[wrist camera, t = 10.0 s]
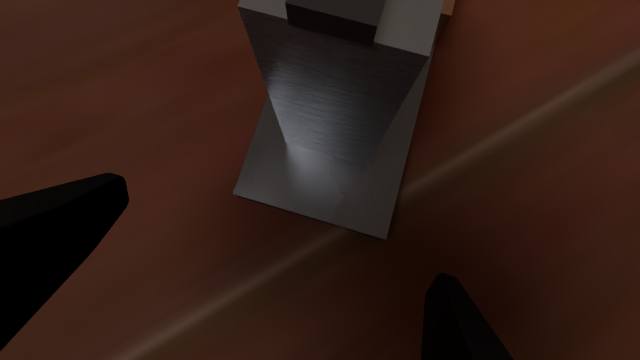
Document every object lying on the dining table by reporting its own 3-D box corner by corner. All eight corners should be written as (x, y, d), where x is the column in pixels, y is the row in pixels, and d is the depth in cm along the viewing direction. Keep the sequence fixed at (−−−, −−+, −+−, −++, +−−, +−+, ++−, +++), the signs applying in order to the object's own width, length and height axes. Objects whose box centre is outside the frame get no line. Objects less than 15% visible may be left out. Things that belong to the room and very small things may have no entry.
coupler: (382, 240, 20) (401, 238, 16) (237, 196, 21) (212, 182, 16) (443, -2, 24) (474, -65, 19) (318, -33, 25) (317, -102, 20)
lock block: (366, 167, 20) (438, 42, 8) (285, 144, 21) (227, -13, 8) (388, 88, 21) (484, -136, 9) (311, 67, 22) (296, -177, 9)
